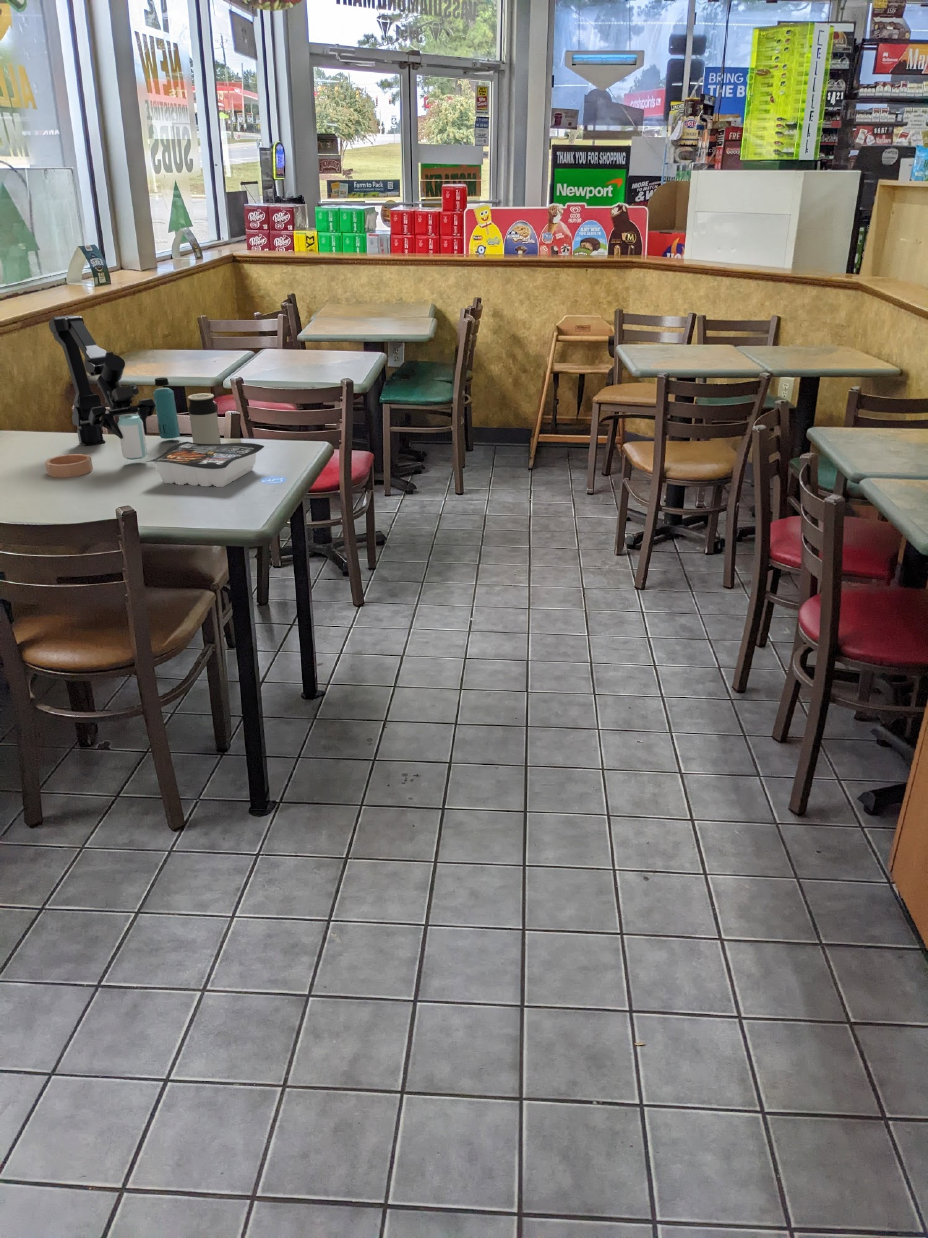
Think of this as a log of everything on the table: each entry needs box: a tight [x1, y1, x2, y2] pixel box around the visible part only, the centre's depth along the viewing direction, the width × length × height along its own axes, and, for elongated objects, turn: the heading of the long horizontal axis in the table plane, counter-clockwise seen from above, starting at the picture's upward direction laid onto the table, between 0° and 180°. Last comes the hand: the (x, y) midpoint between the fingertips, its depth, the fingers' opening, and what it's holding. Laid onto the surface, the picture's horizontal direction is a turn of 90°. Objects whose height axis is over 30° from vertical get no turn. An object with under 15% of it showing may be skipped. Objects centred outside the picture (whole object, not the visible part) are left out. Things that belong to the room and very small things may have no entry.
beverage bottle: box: [152, 376, 181, 440], centre depth 309 cm, size 6×7×20 cm
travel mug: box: [187, 392, 222, 444], centre depth 292 cm, size 8×8×18 cm
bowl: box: [44, 453, 94, 479], centre depth 283 cm, size 12×12×4 cm
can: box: [116, 414, 149, 461], centre depth 287 cm, size 7×7×12 cm
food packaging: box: [146, 441, 265, 488], centre depth 274 cm, size 25×8×23 cm
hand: (134, 435), depth 285 cm, fingers closed on can, 7 cm apart
